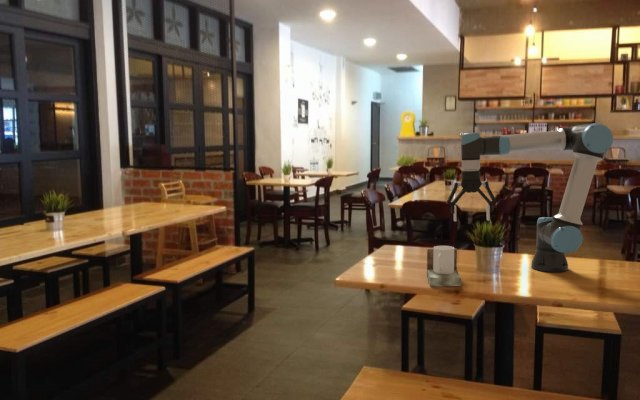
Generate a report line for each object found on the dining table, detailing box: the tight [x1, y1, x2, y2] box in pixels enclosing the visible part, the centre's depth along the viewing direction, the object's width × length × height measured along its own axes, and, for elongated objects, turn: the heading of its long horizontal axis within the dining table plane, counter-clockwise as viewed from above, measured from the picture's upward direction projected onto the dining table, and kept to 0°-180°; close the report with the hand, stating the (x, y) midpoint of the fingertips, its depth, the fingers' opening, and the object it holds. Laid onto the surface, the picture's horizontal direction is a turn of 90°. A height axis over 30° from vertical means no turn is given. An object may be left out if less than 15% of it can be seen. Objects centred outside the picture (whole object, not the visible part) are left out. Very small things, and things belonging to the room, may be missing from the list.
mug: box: [433, 245, 455, 274], centre depth 230 cm, size 12×8×10 cm
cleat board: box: [426, 247, 462, 287], centre depth 231 cm, size 12×16×12 cm
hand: (471, 220), depth 238 cm, fingers open, 13 cm apart
